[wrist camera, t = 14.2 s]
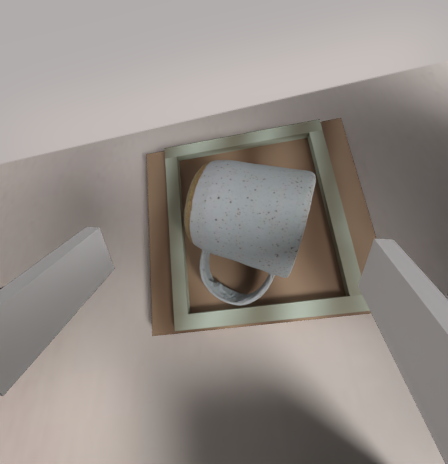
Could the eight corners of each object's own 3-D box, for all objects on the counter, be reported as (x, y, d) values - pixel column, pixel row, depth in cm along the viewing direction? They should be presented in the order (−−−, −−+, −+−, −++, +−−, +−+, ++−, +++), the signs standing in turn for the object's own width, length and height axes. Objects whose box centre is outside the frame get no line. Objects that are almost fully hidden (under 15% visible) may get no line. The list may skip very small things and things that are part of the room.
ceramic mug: (218, 181, 22) (199, 130, 15) (303, 198, 21) (329, 150, 14) (186, 288, 21) (146, 290, 13) (277, 316, 19) (290, 336, 12)
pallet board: (335, 128, 24) (343, 112, 22) (386, 308, 19) (403, 311, 17) (152, 161, 26) (143, 149, 24) (159, 332, 21) (148, 337, 19)
